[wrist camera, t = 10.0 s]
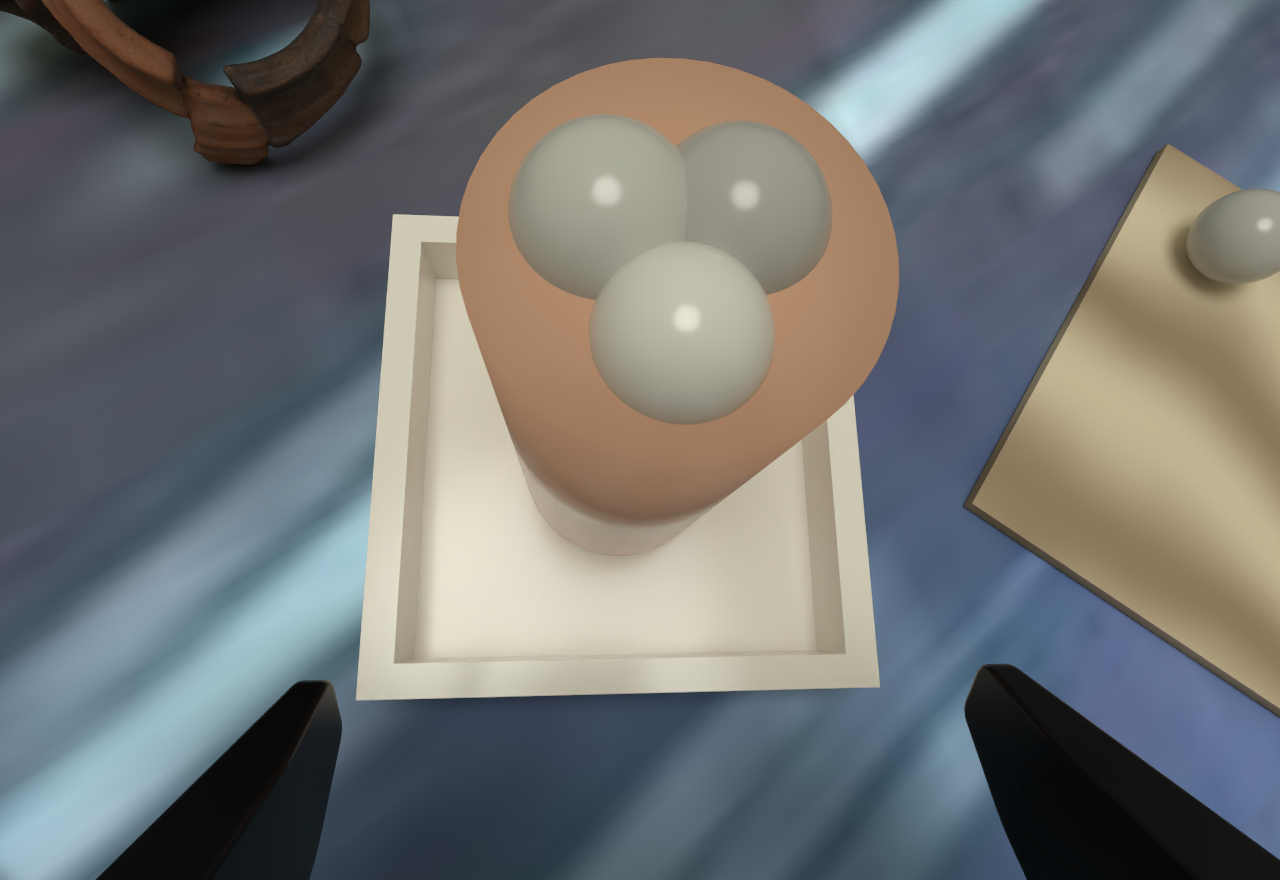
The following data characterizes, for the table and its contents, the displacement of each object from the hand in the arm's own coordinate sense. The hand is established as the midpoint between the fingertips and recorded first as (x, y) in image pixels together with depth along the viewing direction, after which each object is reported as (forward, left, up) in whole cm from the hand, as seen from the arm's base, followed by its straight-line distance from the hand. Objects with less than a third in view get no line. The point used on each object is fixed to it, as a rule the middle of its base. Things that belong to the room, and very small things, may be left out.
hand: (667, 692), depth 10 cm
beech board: (+7, -20, -11) cm, 24 cm away
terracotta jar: (+5, 0, -10) cm, 11 cm away
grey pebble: (+13, -20, -10) cm, 26 cm away
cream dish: (+6, 0, -11) cm, 12 cm away
